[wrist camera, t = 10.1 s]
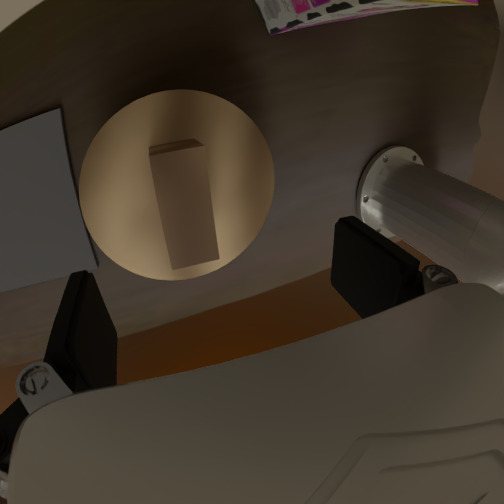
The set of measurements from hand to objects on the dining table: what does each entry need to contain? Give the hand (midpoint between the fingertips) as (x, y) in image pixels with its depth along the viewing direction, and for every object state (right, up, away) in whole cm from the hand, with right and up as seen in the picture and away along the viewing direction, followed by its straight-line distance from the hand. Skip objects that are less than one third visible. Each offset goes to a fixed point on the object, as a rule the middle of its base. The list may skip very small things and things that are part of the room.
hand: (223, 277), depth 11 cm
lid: (-4, +5, +10) cm, 12 cm away
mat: (-22, +5, +11) cm, 25 cm away
